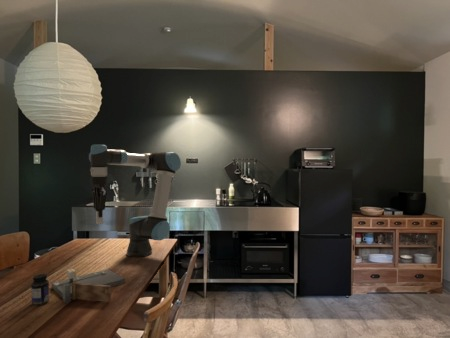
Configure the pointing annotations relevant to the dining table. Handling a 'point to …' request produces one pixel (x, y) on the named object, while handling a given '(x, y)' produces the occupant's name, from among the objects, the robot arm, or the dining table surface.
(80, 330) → the dining table surface
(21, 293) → the dining table surface
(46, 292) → the pill bottle
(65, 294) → the hinge bracket
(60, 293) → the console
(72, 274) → the fader knob
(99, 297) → the door
